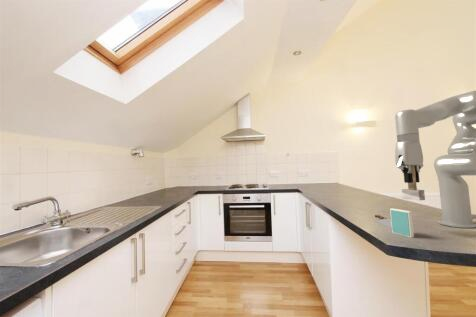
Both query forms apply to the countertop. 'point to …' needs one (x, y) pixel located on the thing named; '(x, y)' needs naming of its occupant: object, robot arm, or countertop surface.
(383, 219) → the kitchen cleaver
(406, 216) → the tile
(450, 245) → the countertop surface
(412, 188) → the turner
